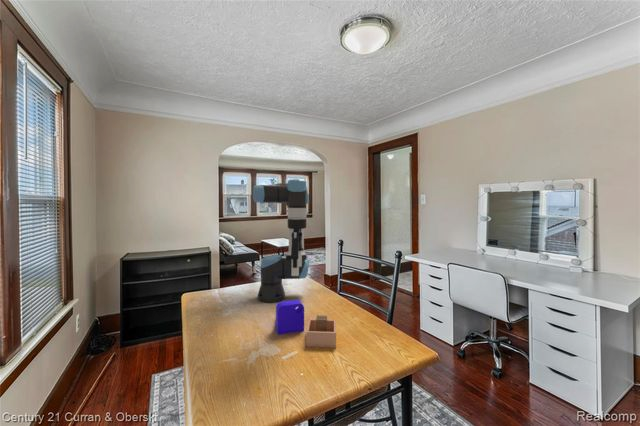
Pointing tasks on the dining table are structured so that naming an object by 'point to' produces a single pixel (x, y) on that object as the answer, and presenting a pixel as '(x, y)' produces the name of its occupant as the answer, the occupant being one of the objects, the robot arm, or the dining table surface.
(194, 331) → the dining table surface
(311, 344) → the planter
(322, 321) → the walnut post
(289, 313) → the bracket
